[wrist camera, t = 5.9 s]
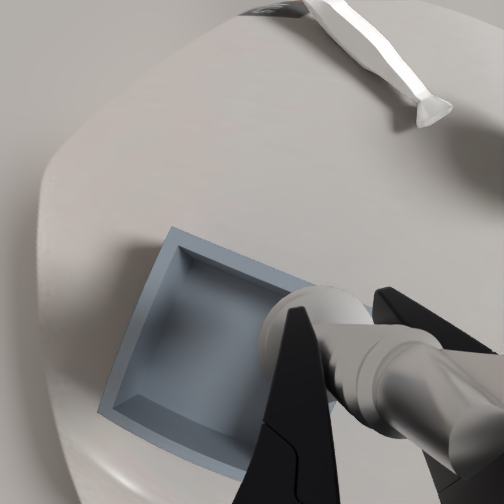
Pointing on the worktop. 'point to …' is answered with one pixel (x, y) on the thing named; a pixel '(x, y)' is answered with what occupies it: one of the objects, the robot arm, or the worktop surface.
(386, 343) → the screw
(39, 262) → the worktop surface
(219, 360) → the tote
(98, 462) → the worktop surface
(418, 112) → the white fish figurine
